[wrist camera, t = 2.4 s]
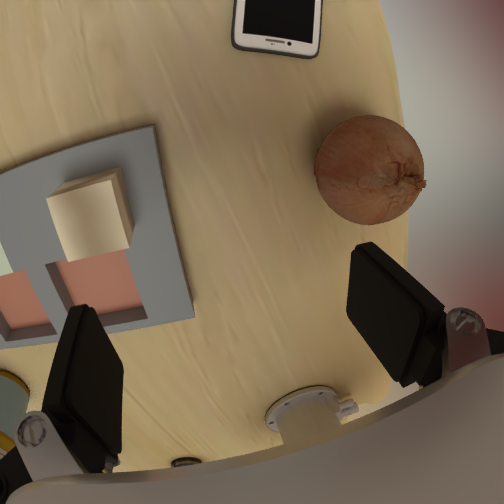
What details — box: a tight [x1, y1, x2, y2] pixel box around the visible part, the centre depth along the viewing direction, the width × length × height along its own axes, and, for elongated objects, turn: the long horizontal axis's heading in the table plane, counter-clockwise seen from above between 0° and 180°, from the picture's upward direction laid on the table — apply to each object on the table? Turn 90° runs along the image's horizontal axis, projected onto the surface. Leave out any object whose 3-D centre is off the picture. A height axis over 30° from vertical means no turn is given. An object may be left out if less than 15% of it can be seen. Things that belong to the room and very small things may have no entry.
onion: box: [314, 115, 426, 225], centre depth 24 cm, size 10×9×10 cm
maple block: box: [46, 167, 135, 262], centre depth 21 cm, size 5×5×4 cm
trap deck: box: [0, 125, 195, 349], centre depth 23 cm, size 25×18×6 cm
